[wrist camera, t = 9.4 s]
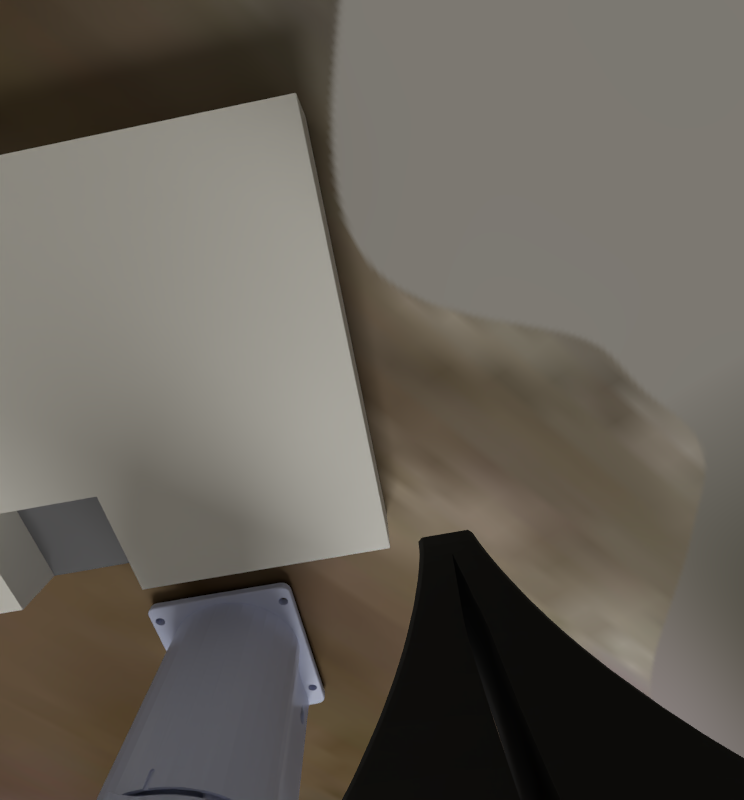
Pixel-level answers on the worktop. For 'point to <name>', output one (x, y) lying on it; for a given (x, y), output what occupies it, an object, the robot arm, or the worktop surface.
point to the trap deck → (176, 357)
